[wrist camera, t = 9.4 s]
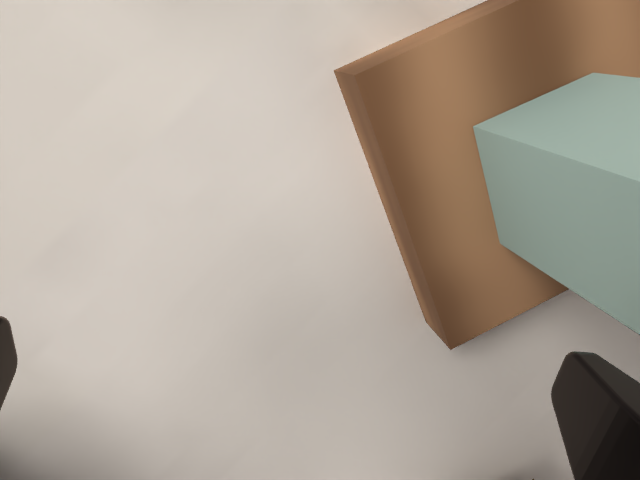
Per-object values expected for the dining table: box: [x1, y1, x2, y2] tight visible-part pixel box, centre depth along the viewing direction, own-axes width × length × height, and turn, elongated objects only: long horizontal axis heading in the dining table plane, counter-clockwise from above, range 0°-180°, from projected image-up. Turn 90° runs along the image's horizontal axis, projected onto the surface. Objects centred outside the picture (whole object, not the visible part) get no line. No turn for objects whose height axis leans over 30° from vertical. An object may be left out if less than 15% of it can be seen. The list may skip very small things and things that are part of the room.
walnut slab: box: [334, 0, 640, 350], centre depth 22 cm, size 12×12×3 cm
